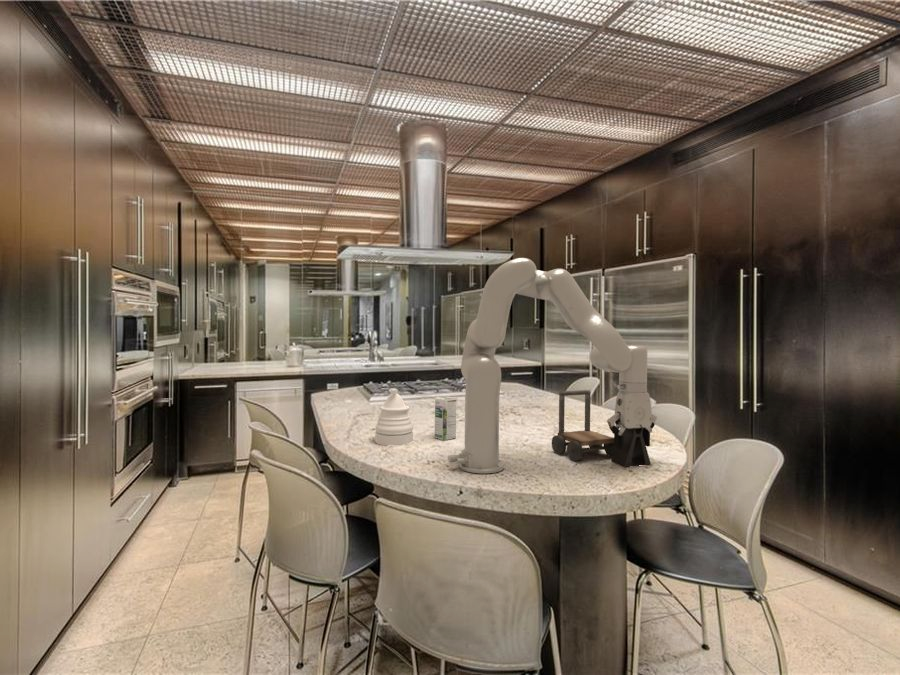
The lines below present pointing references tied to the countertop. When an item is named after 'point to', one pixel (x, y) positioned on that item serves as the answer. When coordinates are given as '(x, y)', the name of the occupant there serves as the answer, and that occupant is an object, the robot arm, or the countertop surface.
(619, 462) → the dark brown a-frame stand
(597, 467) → the countertop surface
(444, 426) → the syrup box
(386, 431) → the honey pot
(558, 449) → the trolley
